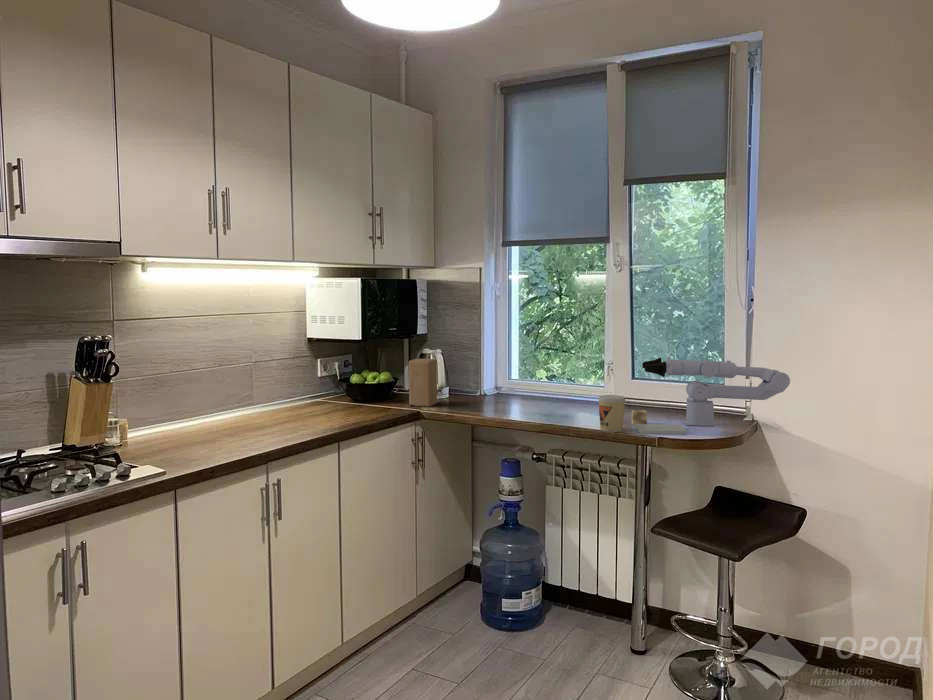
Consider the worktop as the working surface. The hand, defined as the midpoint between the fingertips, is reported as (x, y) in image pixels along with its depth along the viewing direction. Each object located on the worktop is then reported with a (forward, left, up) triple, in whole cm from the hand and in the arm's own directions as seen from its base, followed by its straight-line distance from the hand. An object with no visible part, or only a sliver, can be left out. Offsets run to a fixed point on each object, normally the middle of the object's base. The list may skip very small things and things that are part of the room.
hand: (643, 366), depth 267 cm
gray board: (-4, +14, -21) cm, 26 cm away
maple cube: (+2, +2, -21) cm, 22 cm away
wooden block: (+90, -35, -22) cm, 99 cm away
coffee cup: (+13, +14, -22) cm, 29 cm away
